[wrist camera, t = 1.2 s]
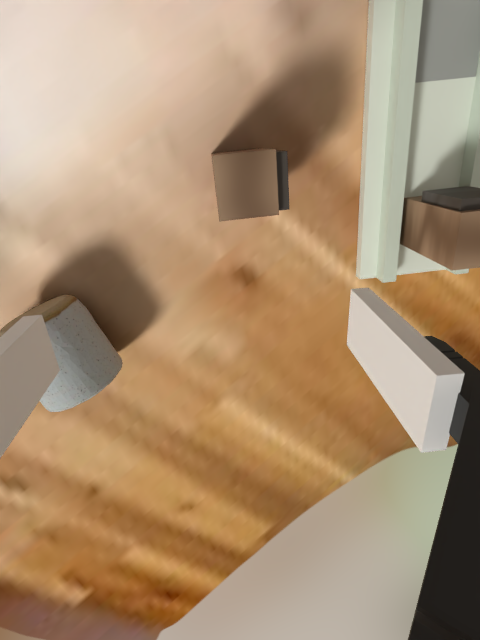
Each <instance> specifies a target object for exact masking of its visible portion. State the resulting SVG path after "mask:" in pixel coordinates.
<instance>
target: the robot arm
mask: <svg viewBox="0 0 480 640" xmlns="http://www.w3.org/2000/svg"><path fill="white" fill-rule="evenodd" d="M347 346H348V347H349V349H350V350H351V352H352V353H353V354H354V356H355V357H356V359H357V360H358V362H359V363H360V365H361V366H362V367H363V369H364V370H365V372H366V373H367V375H368V376H369V378H370V379H371V381H372V382H373V383H374V385H375V386H376V388H377V389H378V391H379V392H380V394H381V395H382V396H383V398H384V399H385V401H386V402H387V404H388V405H389V407H390V408H391V409H392V411H393V412H394V414H395V415H396V417H397V418H398V420H399V421H400V423H401V424H402V425H403V427H404V428H405V430H406V431H407V433H408V434H409V436H410V437H411V438H412V440H413V441H414V443H415V444H416V446H417V447H418V449H419V450H420V452H431V451H440V450H446V448H447V444H448V440H449V436H450V435H451V436H452V437H453V438H454V439H455V441H456V442H457V443H458V448H457V452H456V456H455V459H454V463H453V467H452V471H451V475H450V479H449V483H448V487H447V490H446V494H445V498H444V502H443V506H442V510H441V514H440V518H439V521H438V525H437V529H436V533H435V537H434V541H433V545H432V549H431V552H430V556H429V560H428V564H427V568H426V572H425V576H424V579H423V583H422V587H421V591H420V595H419V599H418V603H417V607H416V610H415V614H414V618H413V622H412V626H411V630H410V634H409V638H408V640H480V371H479V370H478V369H477V368H476V367H475V366H473V365H472V364H471V363H470V362H468V361H467V360H466V359H465V358H463V357H462V356H461V355H460V354H459V353H458V352H455V350H454V349H453V348H452V347H450V346H449V345H448V344H447V343H446V342H444V341H441V340H439V339H437V338H435V337H433V336H425V337H423V336H422V335H421V334H420V333H419V332H418V331H417V330H416V329H414V328H413V327H412V326H411V325H410V324H409V323H408V322H407V321H405V320H404V319H403V318H402V317H401V316H400V315H399V314H398V313H396V312H395V311H394V310H393V309H392V308H391V307H390V306H389V305H387V304H386V303H385V302H384V301H383V300H382V299H381V298H380V297H378V296H377V295H376V294H375V293H374V292H373V291H372V290H371V289H369V288H359V289H351V297H350V310H349V323H348V336H347ZM59 371H60V369H59V366H58V363H57V359H56V356H55V353H54V350H53V347H52V344H51V341H50V338H49V335H48V332H47V329H46V325H45V322H44V319H43V316H42V315H33V316H23V317H22V318H21V319H20V320H19V321H18V322H16V323H15V324H14V325H13V326H12V327H11V328H10V329H9V330H8V331H6V332H5V333H4V334H3V335H2V336H1V337H0V458H1V456H2V455H3V454H4V452H5V451H6V449H7V448H8V446H9V445H10V443H11V442H12V440H13V439H14V437H15V436H16V434H17V433H18V431H19V430H20V428H21V427H22V426H23V424H24V423H25V421H26V420H27V418H28V417H29V415H30V414H31V412H32V411H33V409H34V408H35V406H36V405H37V403H38V402H39V400H40V399H41V398H42V396H43V395H44V393H45V392H46V390H47V389H48V387H49V386H50V384H51V383H52V381H53V380H54V378H55V377H56V375H57V374H58V372H59Z"/></svg>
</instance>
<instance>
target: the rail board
mask: <svg viewBox="0 0 480 640" xmlns="http://www.w3.org/2000/svg"><path fill="white" fill-rule="evenodd" d="M463 186H470V187H476V188H480V0H369V7H368V29H367V51H366V72H365V94H364V115H363V137H362V159H361V180H360V202H359V224H358V245H357V267H356V276H357V277H358V278H359V279H367V278H375V277H376V278H378V279H379V280H380V281H381V282H383V283H385V282H394V281H396V275H401V274H410V273H419V272H427V271H436V270H445V269H446V270H448V271H450V272H452V273H454V274H463V273H468V271H469V269H461V270H453V271H452V270H450V269H448V268H446V267H444V266H442V265H440V264H438V263H436V262H434V261H432V260H430V259H428V258H426V257H425V256H423V255H421V254H419V253H417V252H415V251H413V250H411V249H409V248H407V247H405V246H403V245H401V244H400V234H401V223H402V213H403V203H404V198H407V197H416V196H422V191H427V190H436V189H445V188H454V187H463Z"/></svg>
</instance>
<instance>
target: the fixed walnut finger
mask: <svg viewBox="0 0 480 640" xmlns="http://www.w3.org/2000/svg"><path fill="white" fill-rule="evenodd" d="M400 244H401V245H403V246H405V247H407V248H409V249H411V250H413V251H415V252H417V253H419V254H421V255H423V256H425V257H426V258H428V259H430V260H432V261H434V262H436V263H438V264H440V265H442V266H444V267H446V268H448V269H450V270H452V271H453V270H461V269H470V268H479V267H480V188H476V187H470V186H463V187H454V188H445V189H436V190H427V191H422V196H416V197H407V198H404V203H403V213H402V223H401V234H400Z"/></svg>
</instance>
